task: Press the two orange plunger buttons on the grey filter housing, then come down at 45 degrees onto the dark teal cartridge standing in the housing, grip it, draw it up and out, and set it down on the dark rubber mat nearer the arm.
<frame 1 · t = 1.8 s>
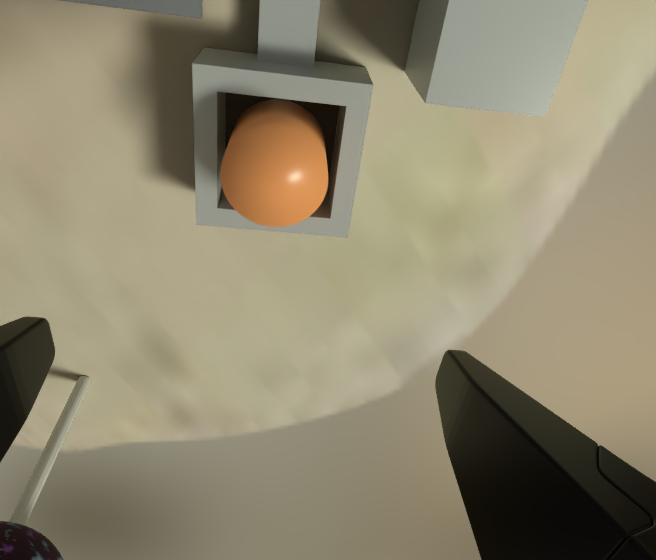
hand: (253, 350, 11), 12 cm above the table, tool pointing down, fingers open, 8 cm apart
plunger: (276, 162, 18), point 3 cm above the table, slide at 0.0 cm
lollipop: (85, 377, 28), on the table
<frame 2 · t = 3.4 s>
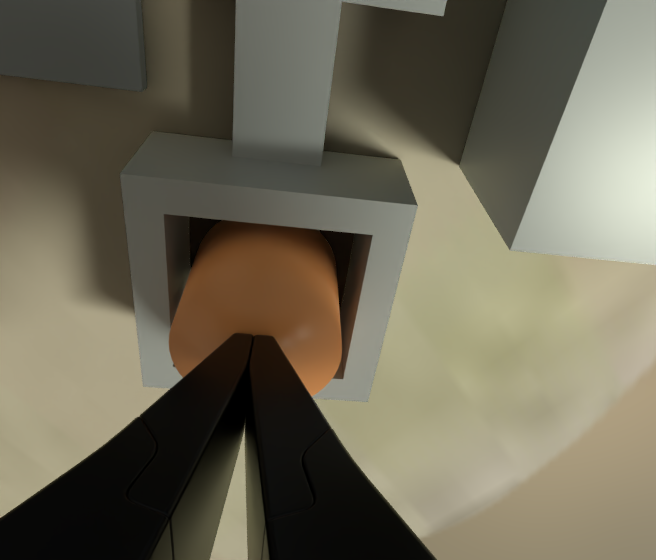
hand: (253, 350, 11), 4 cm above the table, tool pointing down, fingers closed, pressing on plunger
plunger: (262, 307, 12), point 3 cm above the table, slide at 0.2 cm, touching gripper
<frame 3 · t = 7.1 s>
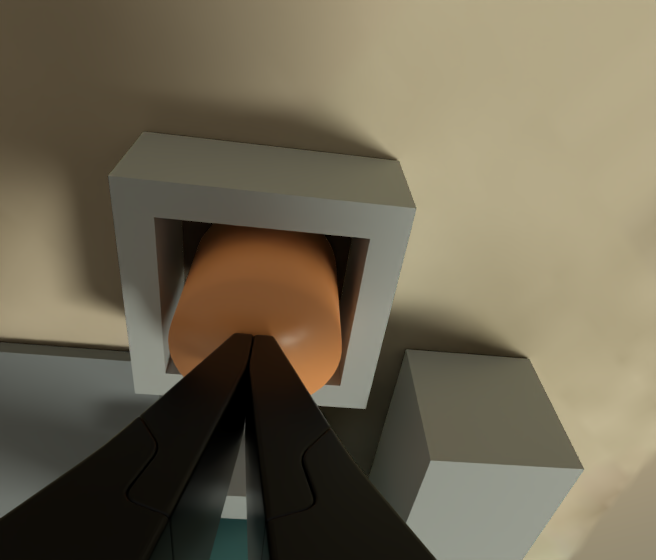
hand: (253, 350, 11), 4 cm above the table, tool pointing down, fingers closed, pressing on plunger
housing: (249, 491, 20), on the table
mat: (6, 478, 19), on the table
cartridge: (249, 490, 20), on the table
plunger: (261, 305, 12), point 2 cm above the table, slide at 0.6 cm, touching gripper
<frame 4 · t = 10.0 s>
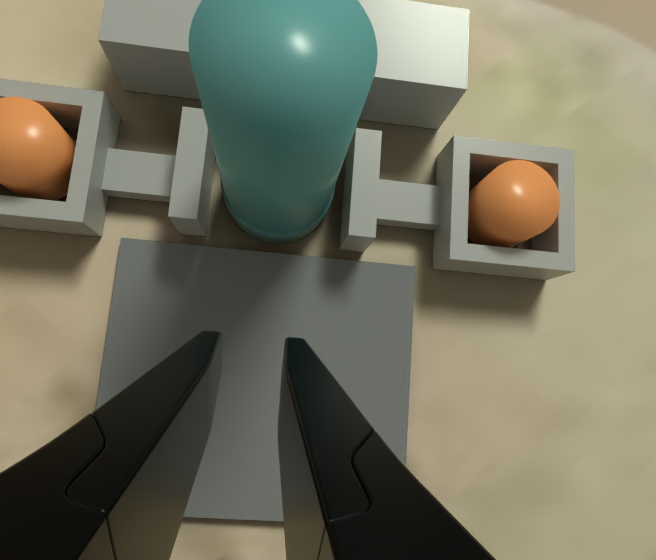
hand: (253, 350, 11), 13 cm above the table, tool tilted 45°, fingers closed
housing: (278, 194, 25), on the table
mat: (260, 380, 24), on the table
cartridge: (278, 194, 25), on the table
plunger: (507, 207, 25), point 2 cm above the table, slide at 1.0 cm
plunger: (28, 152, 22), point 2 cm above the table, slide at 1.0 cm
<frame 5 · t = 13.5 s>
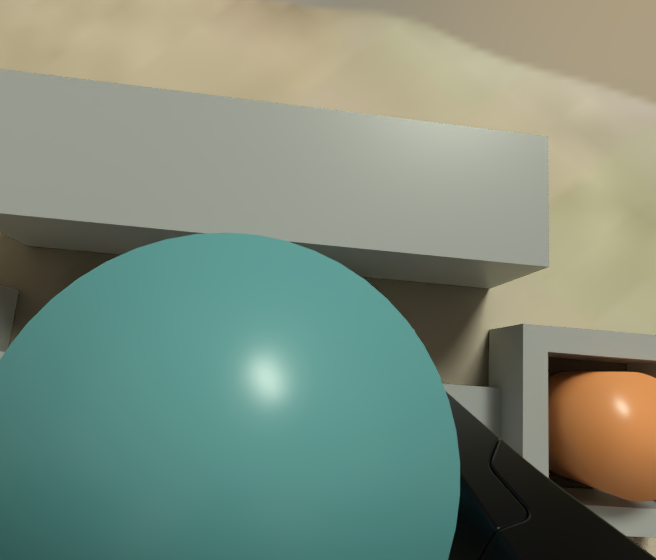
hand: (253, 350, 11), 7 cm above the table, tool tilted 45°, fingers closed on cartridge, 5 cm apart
housing: (255, 400, 17), on the table
cartridge: (255, 400, 17), on the table, touching gripper
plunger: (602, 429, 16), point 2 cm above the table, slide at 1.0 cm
when the fingers open (8 cm above the table, at t = 16.7 s): cartridge stays where it is, resting on mat.
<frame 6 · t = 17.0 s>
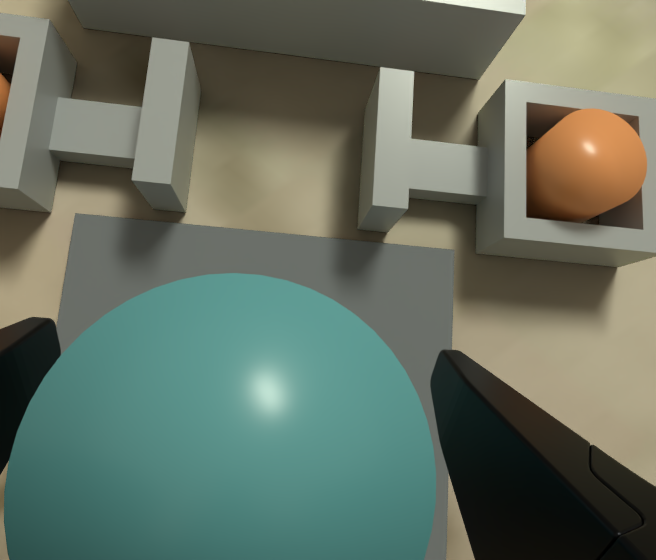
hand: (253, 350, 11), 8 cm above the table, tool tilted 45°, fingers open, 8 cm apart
housing: (278, 159, 20), on the table
mat: (256, 397, 18), on the table
cartridge: (256, 401, 18), resting on mat
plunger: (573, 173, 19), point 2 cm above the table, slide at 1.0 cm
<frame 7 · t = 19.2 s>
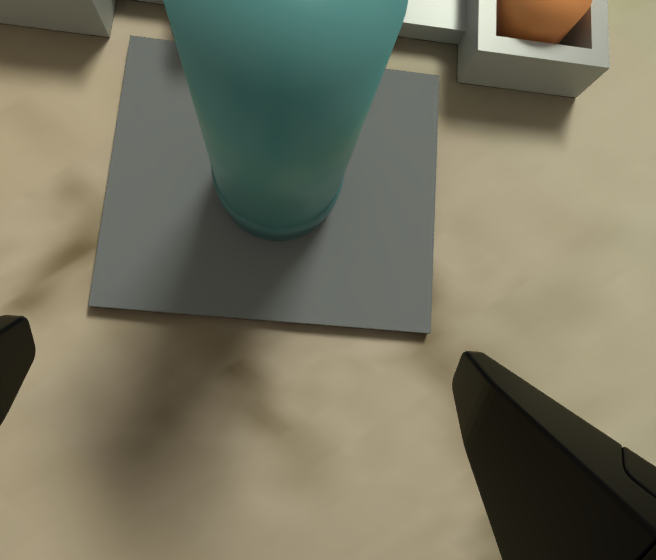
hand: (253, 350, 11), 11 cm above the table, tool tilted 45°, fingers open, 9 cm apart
housing: (294, 2, 24), on the table
mat: (277, 184, 22), on the table
cartridge: (277, 184, 22), resting on mat
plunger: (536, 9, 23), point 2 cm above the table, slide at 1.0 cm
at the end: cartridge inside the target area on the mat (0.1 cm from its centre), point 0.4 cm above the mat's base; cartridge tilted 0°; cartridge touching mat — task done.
